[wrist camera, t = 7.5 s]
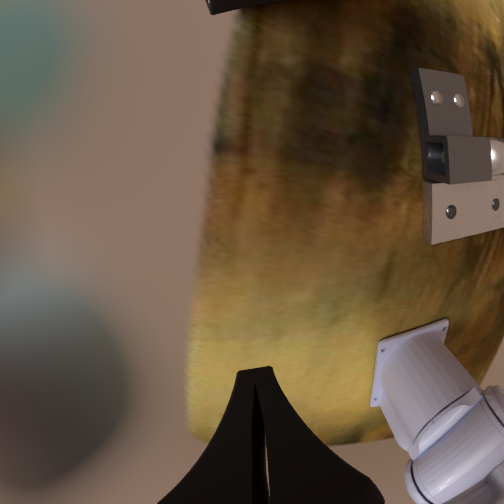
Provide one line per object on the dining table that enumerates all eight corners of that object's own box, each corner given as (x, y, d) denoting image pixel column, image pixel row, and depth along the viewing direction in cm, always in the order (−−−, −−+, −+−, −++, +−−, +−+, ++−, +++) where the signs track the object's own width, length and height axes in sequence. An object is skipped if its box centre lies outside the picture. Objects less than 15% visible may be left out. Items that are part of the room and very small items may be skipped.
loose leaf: (465, 174, 18) (491, 180, 15) (423, 177, 18) (450, 184, 15) (454, 77, 15) (480, 72, 12) (409, 70, 15) (434, 62, 12)
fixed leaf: (497, 223, 20) (519, 233, 17) (423, 239, 20) (446, 254, 17) (497, 137, 17) (522, 140, 14) (419, 134, 17) (445, 135, 14)
